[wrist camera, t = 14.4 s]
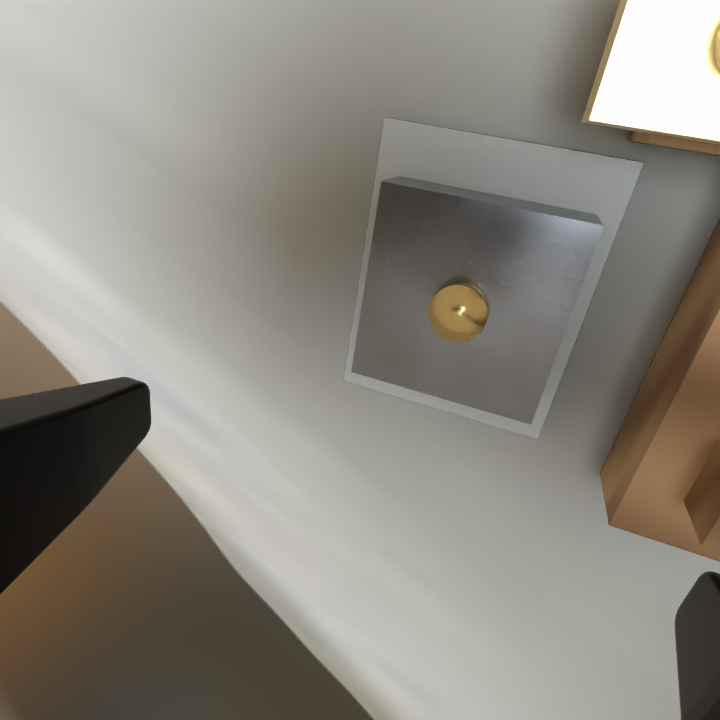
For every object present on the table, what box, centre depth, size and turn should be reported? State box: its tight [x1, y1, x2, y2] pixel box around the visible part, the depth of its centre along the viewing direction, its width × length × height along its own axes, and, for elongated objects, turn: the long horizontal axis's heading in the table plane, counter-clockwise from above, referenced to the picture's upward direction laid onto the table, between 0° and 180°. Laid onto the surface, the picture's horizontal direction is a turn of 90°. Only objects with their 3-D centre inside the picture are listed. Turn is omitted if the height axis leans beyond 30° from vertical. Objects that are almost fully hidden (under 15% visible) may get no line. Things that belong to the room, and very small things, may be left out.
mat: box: [343, 118, 644, 439], centre depth 18 cm, size 10×8×1 cm
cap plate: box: [351, 176, 604, 425], centre depth 16 cm, size 7×6×3 cm
